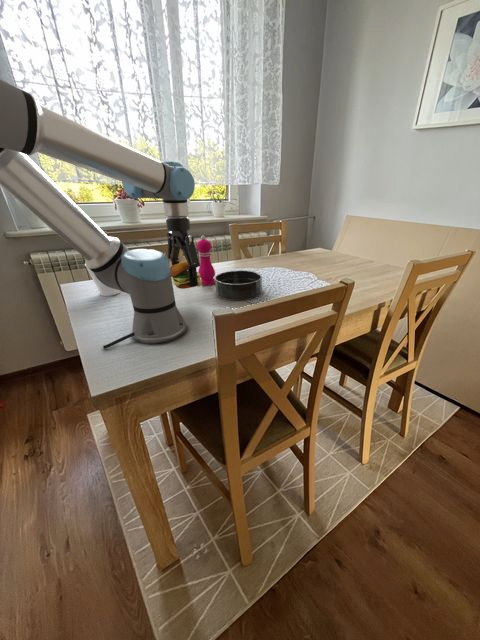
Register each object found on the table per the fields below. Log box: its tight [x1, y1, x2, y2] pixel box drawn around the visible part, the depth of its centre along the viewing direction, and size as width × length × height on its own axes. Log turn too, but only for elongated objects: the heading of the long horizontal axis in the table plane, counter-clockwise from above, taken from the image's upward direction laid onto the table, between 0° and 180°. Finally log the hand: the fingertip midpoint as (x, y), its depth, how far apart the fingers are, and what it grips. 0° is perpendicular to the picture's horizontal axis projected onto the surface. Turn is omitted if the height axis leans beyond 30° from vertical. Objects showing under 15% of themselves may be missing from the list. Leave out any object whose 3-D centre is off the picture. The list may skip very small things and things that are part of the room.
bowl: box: [214, 270, 263, 301], centre depth 117 cm, size 19×19×6 cm
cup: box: [84, 263, 120, 297], centre depth 116 cm, size 12×12×12 cm
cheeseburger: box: [170, 260, 202, 290], centre depth 106 cm, size 10×11×10 cm
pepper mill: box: [196, 235, 216, 286], centre depth 124 cm, size 7×7×20 cm
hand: (185, 282), depth 107 cm, fingers closed on cheeseburger, 11 cm apart
